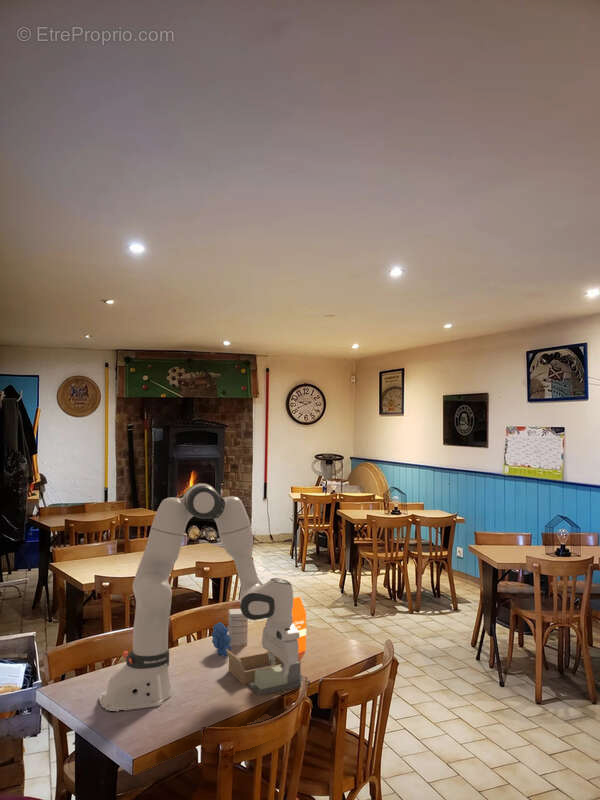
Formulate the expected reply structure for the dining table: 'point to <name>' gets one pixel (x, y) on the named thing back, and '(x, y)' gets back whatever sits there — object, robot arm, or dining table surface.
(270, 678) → the block
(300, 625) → the orange juice
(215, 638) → the grapes
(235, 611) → the supplement box
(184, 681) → the dining table surface
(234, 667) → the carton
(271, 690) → the rubber mat
